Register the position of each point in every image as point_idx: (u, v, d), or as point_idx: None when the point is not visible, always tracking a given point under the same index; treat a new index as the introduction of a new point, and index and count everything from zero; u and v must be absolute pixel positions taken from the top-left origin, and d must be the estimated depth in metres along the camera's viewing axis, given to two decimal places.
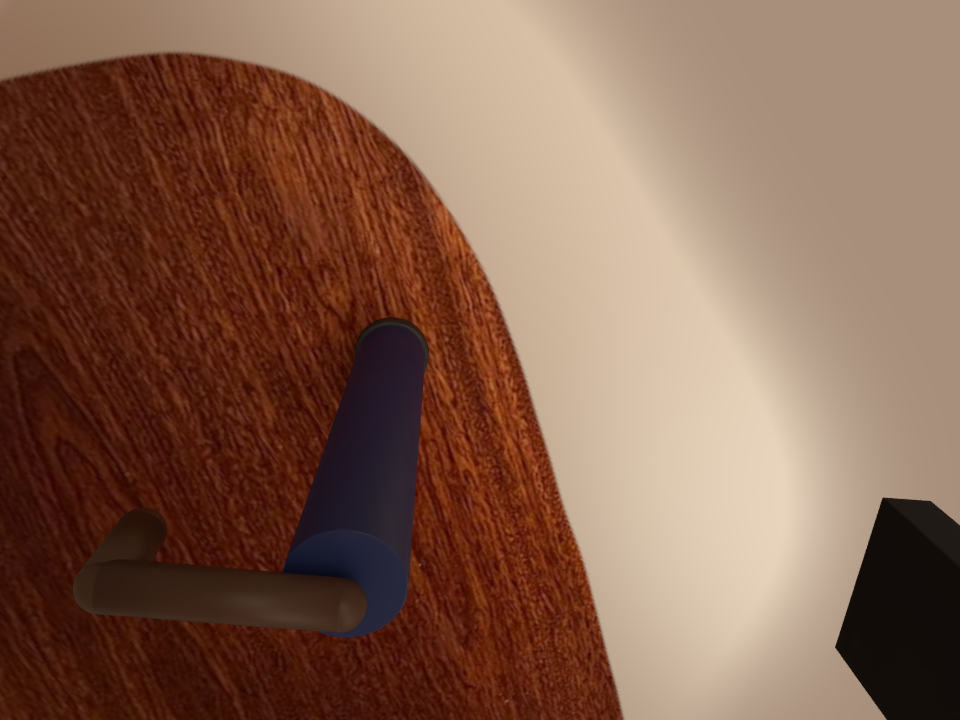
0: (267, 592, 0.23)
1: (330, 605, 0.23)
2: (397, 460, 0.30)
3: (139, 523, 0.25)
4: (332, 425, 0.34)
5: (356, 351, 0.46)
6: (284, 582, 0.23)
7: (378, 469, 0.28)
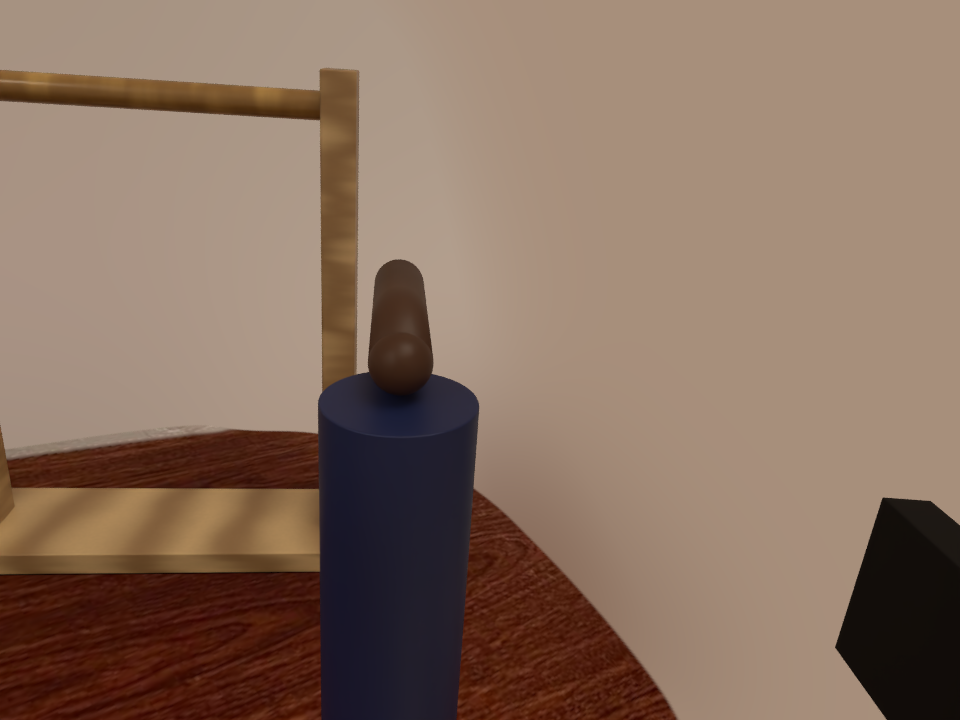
0: (423, 316, 0.21)
1: (418, 335, 0.19)
2: (454, 622, 0.20)
3: None
4: None
5: None
6: (428, 334, 0.20)
7: (467, 557, 0.21)
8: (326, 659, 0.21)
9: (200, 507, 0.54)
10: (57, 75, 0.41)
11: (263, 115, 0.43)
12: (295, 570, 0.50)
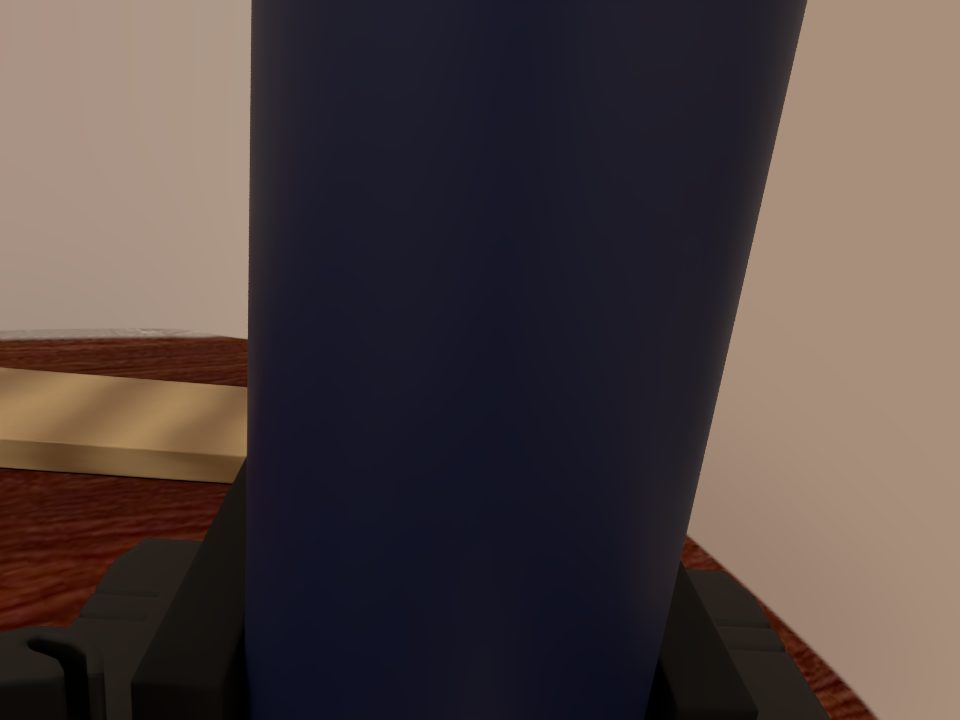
0: None
1: None
2: (779, 84, 0.05)
3: None
4: None
5: None
6: None
7: None
8: (259, 238, 0.05)
9: (160, 399, 0.39)
10: None
11: None
12: None
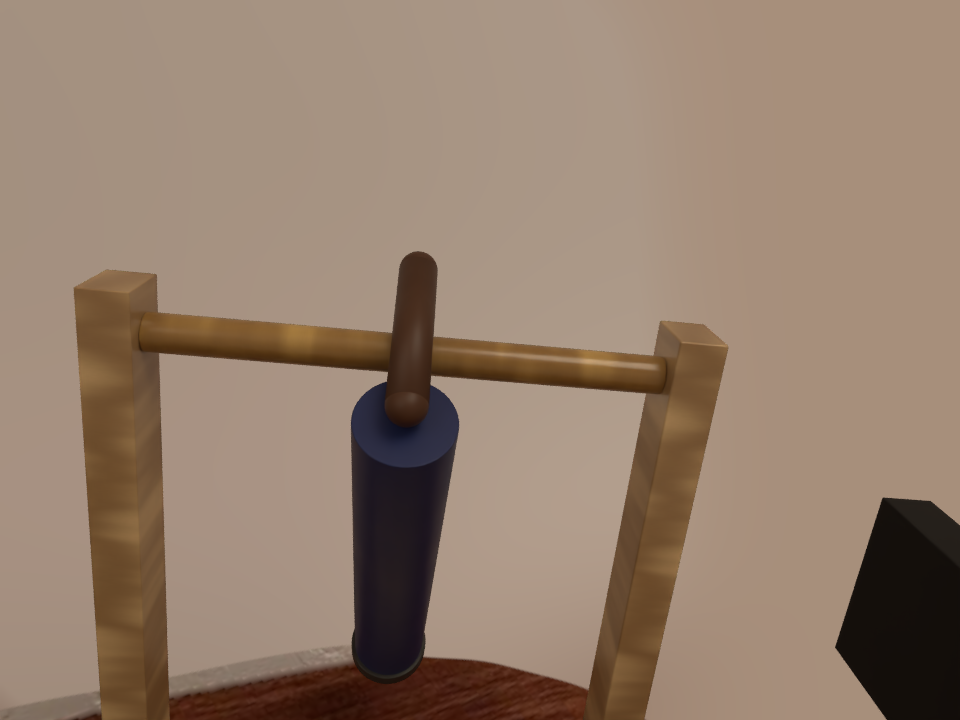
0: (427, 352, 0.29)
1: (419, 390, 0.27)
2: (435, 527, 0.32)
3: None
4: None
5: None
6: (430, 367, 0.29)
7: (446, 496, 0.32)
8: (355, 532, 0.33)
9: None
10: (323, 332, 0.30)
11: None
12: None
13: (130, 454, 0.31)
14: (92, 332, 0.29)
